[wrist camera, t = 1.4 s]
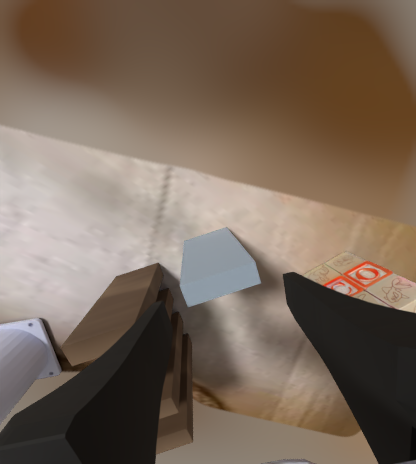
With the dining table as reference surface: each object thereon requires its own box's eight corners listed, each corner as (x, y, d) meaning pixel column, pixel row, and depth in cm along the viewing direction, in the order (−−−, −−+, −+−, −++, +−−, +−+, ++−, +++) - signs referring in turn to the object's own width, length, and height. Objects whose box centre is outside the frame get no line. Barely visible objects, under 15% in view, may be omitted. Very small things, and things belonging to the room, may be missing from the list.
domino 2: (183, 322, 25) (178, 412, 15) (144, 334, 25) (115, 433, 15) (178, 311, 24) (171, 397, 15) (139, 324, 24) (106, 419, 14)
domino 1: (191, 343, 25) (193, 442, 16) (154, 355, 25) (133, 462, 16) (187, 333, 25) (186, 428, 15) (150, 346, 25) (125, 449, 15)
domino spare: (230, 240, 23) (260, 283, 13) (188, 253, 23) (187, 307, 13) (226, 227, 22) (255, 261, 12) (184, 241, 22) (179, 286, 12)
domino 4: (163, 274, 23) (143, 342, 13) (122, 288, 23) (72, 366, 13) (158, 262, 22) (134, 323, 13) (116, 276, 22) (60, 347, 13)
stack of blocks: (299, 274, 25) (402, 360, 13) (344, 249, 24) (493, 313, 12) (354, 384, 30) (462, 516, 18) (391, 364, 30) (526, 485, 18)
